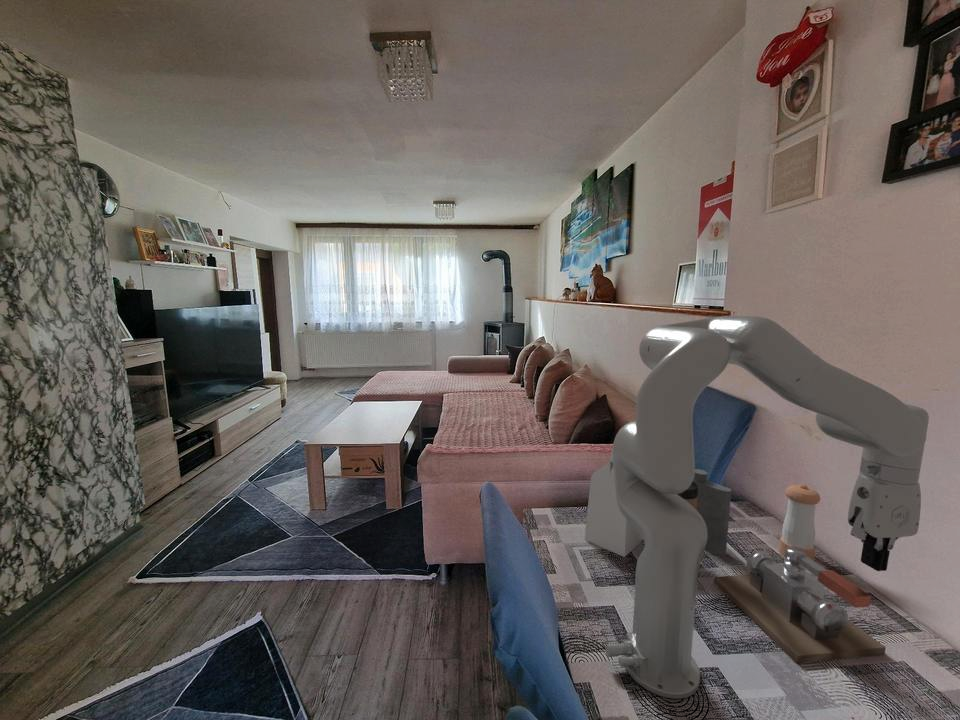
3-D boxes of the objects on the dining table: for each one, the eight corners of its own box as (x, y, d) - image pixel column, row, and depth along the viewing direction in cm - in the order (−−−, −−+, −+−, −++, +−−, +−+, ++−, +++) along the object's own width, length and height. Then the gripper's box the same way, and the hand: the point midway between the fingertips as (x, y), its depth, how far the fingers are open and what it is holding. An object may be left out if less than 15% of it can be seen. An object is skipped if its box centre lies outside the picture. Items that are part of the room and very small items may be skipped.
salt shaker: (815, 554, 107) (823, 484, 104) (812, 567, 101) (821, 493, 99) (780, 543, 112) (787, 476, 109) (776, 555, 106) (784, 484, 104)
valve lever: (781, 557, 85) (782, 546, 85) (795, 556, 86) (796, 545, 85) (853, 610, 70) (855, 596, 70) (870, 609, 71) (872, 595, 70)
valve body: (814, 644, 76) (820, 594, 75) (742, 580, 94) (746, 539, 92) (848, 641, 77) (854, 591, 75) (770, 578, 94) (774, 538, 93)
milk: (605, 523, 121) (609, 438, 118) (643, 538, 113) (649, 448, 110) (584, 539, 113) (588, 448, 110) (624, 557, 105) (630, 459, 102)
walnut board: (796, 663, 73) (797, 655, 73) (713, 582, 95) (714, 576, 95) (884, 654, 76) (885, 647, 75) (783, 577, 97) (784, 571, 97)
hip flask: (728, 553, 107) (735, 480, 104) (718, 558, 105) (725, 483, 102) (674, 525, 121) (679, 460, 118) (665, 528, 119) (669, 462, 116)
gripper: (876, 481, 69) (860, 582, 71) (948, 478, 71) (931, 576, 73) (832, 464, 76) (818, 556, 78) (898, 463, 79) (884, 552, 81)
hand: (873, 566), depth 76 cm, fingers closed
